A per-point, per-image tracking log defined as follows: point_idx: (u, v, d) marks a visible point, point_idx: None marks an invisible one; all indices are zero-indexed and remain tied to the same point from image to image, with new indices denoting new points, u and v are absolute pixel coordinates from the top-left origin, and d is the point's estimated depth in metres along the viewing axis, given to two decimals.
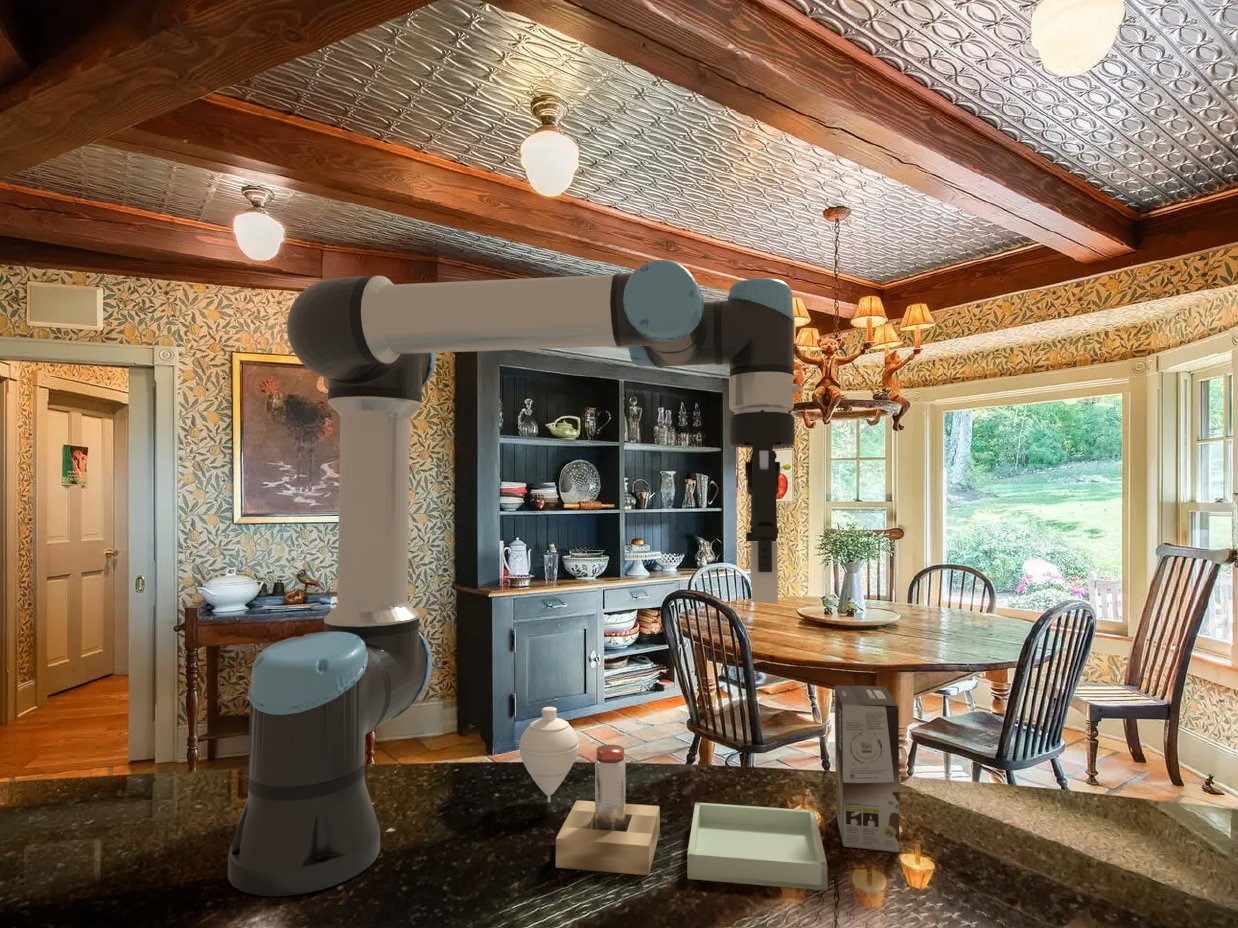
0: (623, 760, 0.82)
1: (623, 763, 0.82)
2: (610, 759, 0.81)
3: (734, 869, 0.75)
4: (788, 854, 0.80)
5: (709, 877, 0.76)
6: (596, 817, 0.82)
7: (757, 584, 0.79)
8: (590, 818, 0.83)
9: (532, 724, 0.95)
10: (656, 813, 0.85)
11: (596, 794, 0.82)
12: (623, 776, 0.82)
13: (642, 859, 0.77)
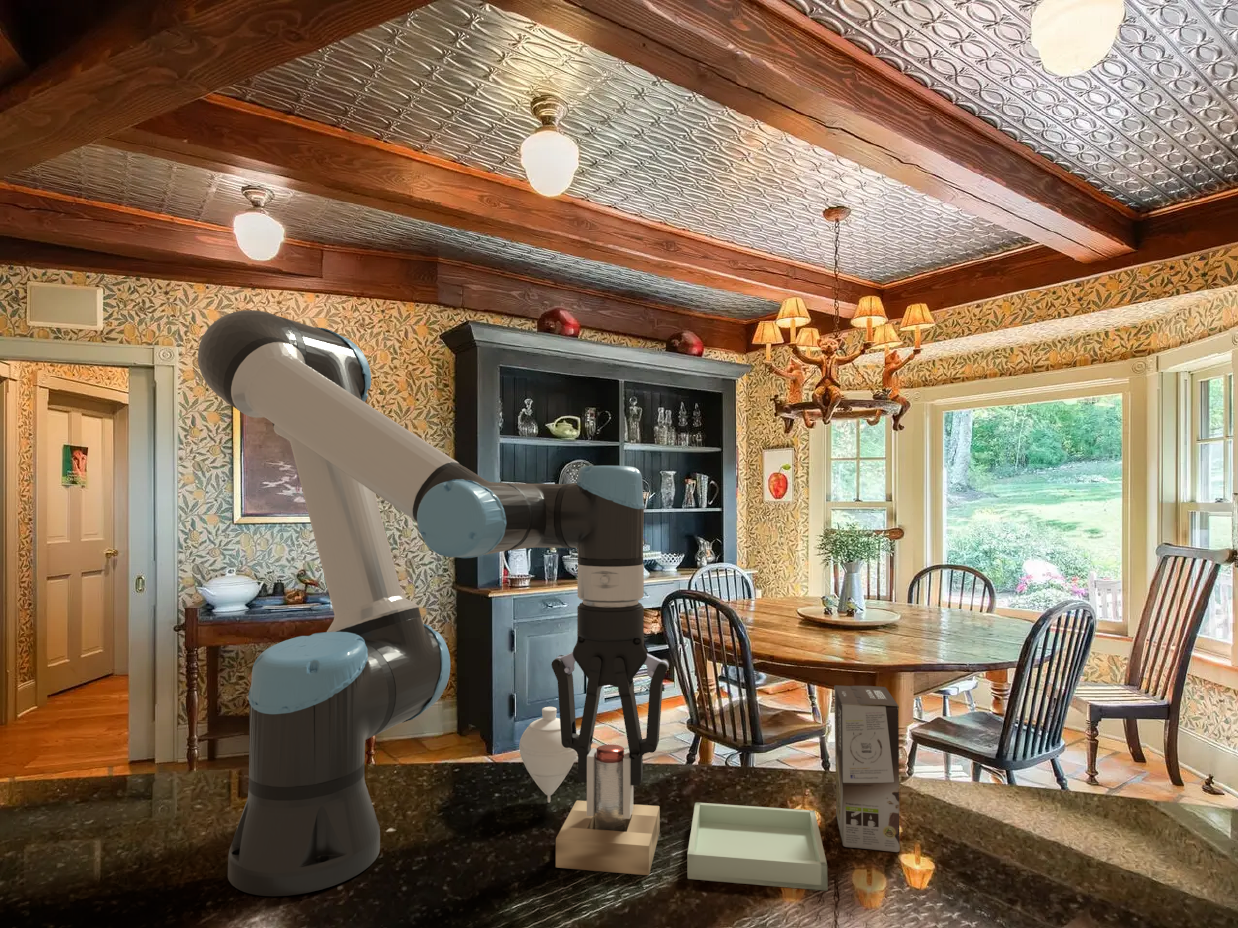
0: None
1: None
2: (610, 759, 0.81)
3: (734, 869, 0.75)
4: (788, 854, 0.80)
5: (709, 877, 0.76)
6: (596, 817, 0.82)
7: None
8: (590, 818, 0.83)
9: (532, 724, 0.95)
10: (656, 813, 0.85)
11: (596, 794, 0.82)
12: None
13: (642, 859, 0.77)
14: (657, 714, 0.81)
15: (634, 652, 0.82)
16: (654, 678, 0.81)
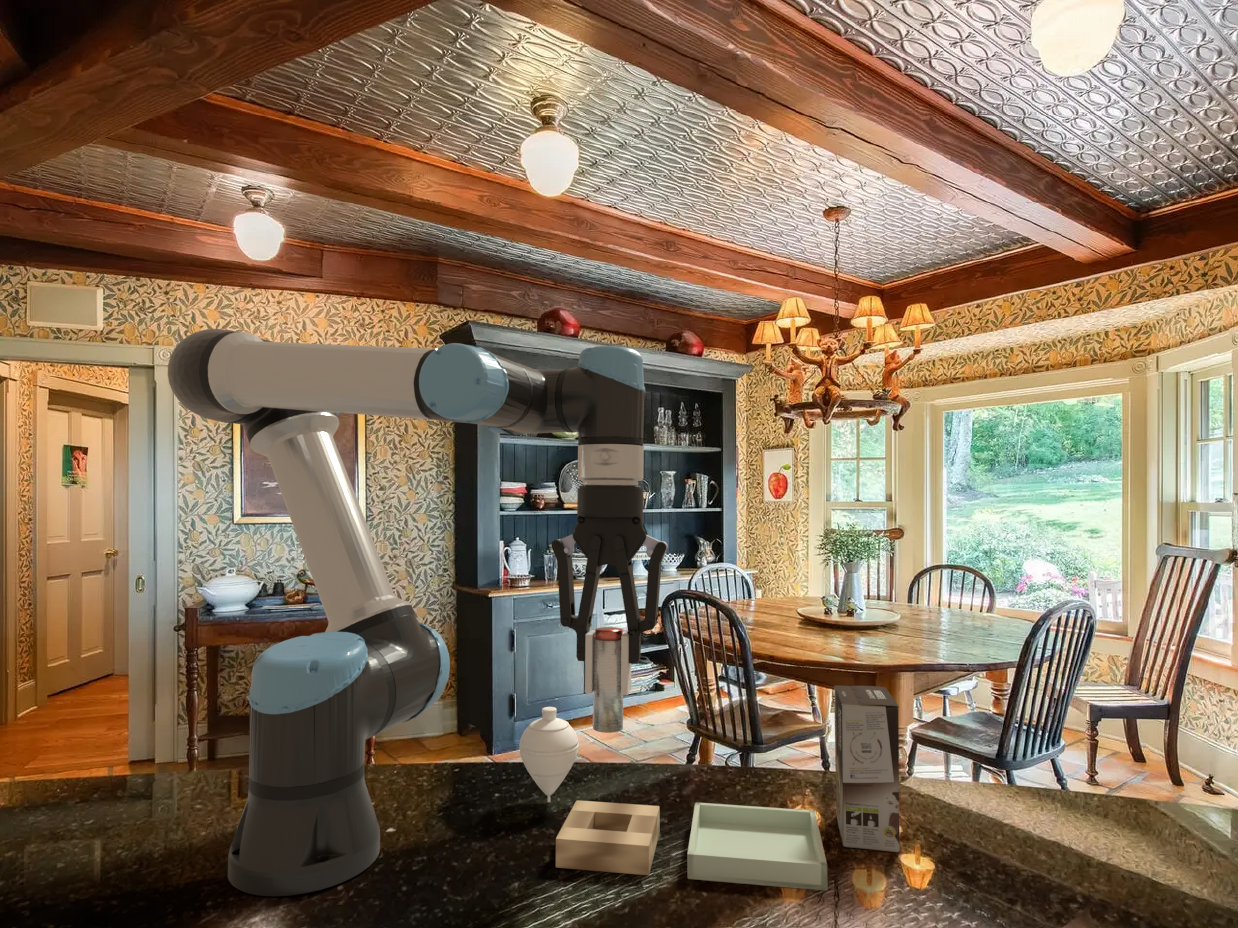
0: None
1: None
2: (609, 637, 0.82)
3: (734, 869, 0.75)
4: (788, 854, 0.80)
5: (709, 877, 0.76)
6: (594, 695, 0.83)
7: None
8: (590, 818, 0.83)
9: (532, 724, 0.95)
10: (656, 813, 0.85)
11: (594, 673, 0.83)
12: None
13: (642, 859, 0.77)
14: (656, 592, 0.82)
15: (633, 531, 0.82)
16: (653, 557, 0.82)
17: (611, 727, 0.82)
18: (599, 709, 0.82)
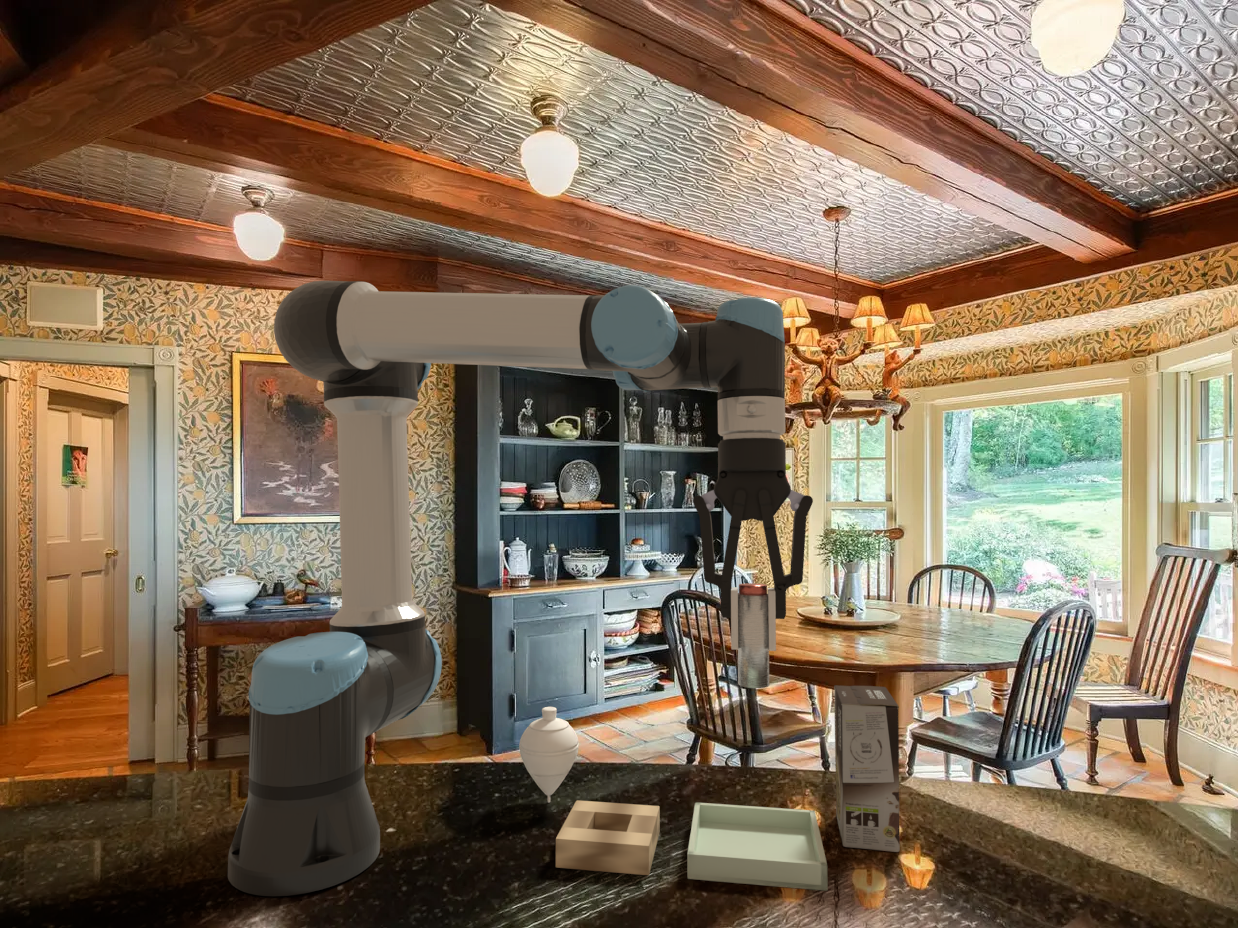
0: (767, 594, 0.82)
1: (767, 597, 0.82)
2: (755, 592, 0.81)
3: (734, 869, 0.75)
4: (788, 854, 0.80)
5: (709, 877, 0.76)
6: (740, 651, 0.82)
7: None
8: (590, 818, 0.83)
9: (532, 724, 0.95)
10: (656, 813, 0.85)
11: (740, 628, 0.82)
12: (767, 610, 0.82)
13: (642, 859, 0.77)
14: (803, 546, 0.81)
15: (778, 485, 0.81)
16: (799, 510, 0.81)
17: (760, 683, 0.80)
18: (746, 664, 0.81)
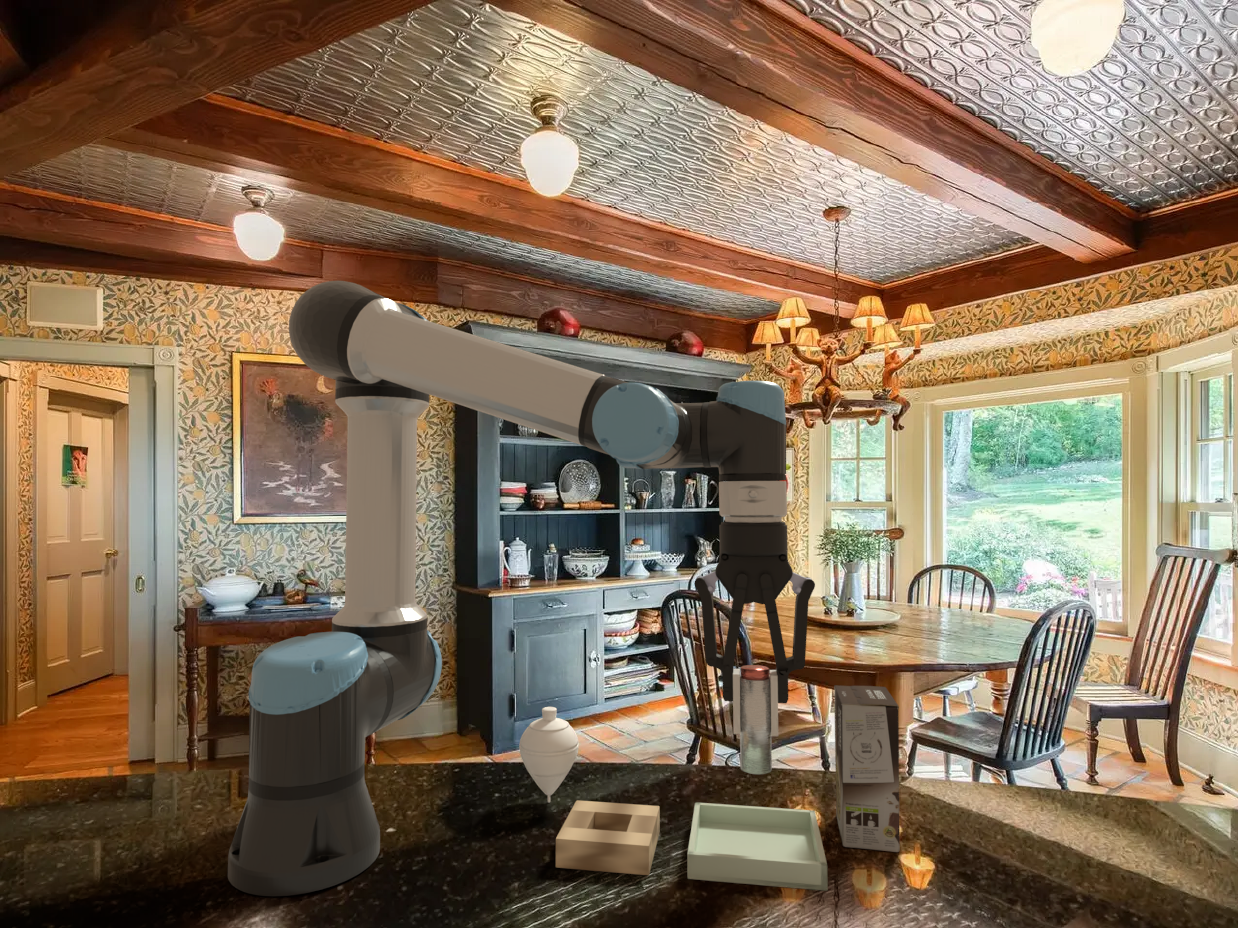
0: (769, 678, 0.81)
1: (769, 681, 0.81)
2: (757, 676, 0.81)
3: (734, 869, 0.75)
4: (788, 854, 0.80)
5: (709, 877, 0.76)
6: (743, 736, 0.81)
7: None
8: (590, 818, 0.83)
9: (532, 724, 0.95)
10: (656, 813, 0.85)
11: (742, 713, 0.81)
12: (769, 694, 0.81)
13: (642, 859, 0.77)
14: (805, 630, 0.80)
15: (780, 569, 0.81)
16: (801, 594, 0.81)
17: (762, 768, 0.80)
18: (749, 750, 0.80)
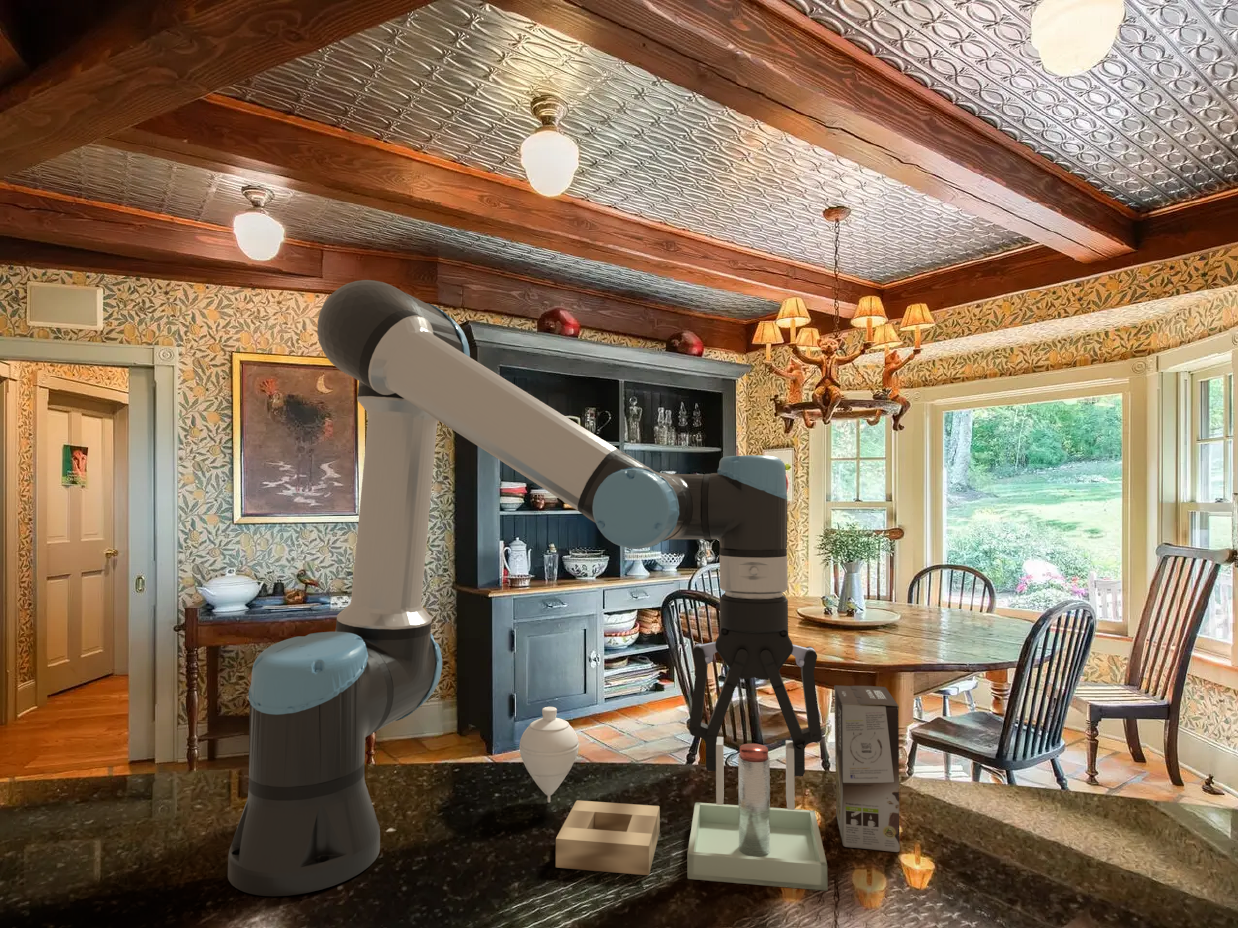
0: (768, 759, 0.81)
1: (768, 762, 0.81)
2: (756, 758, 0.80)
3: (734, 869, 0.75)
4: (788, 854, 0.80)
5: (709, 877, 0.76)
6: (741, 817, 0.81)
7: None
8: (590, 818, 0.83)
9: (532, 724, 0.95)
10: (656, 813, 0.85)
11: (741, 794, 0.81)
12: (768, 775, 0.81)
13: (642, 859, 0.77)
14: (816, 702, 0.80)
15: (780, 645, 0.81)
16: (806, 667, 0.80)
17: (760, 851, 0.80)
18: (747, 832, 0.80)
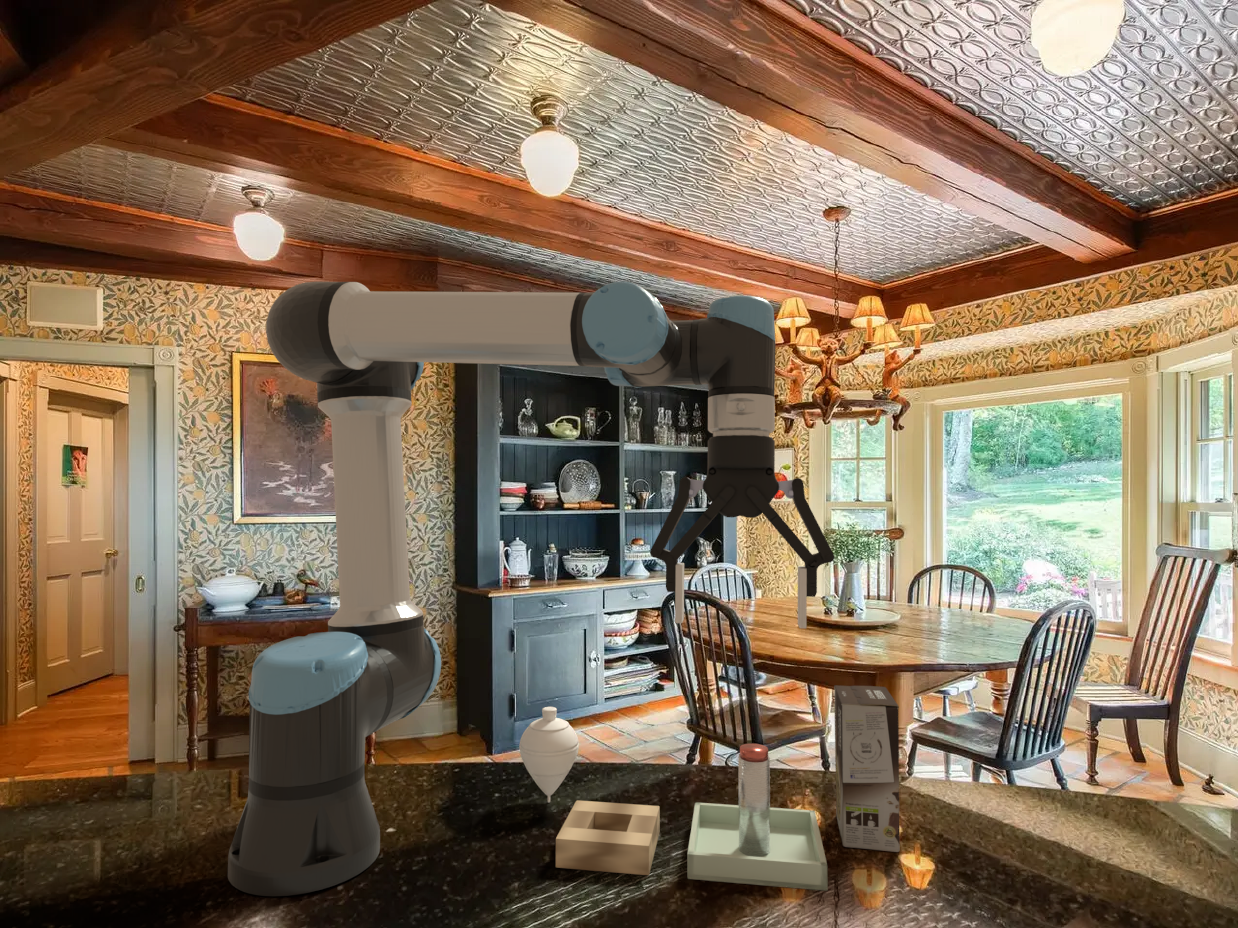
0: (768, 759, 0.81)
1: (768, 762, 0.81)
2: (756, 758, 0.80)
3: (734, 869, 0.75)
4: (788, 854, 0.80)
5: (709, 877, 0.76)
6: (741, 817, 0.81)
7: None
8: (590, 818, 0.83)
9: (532, 724, 0.95)
10: (656, 813, 0.85)
11: (741, 794, 0.81)
12: (768, 775, 0.81)
13: (642, 859, 0.77)
14: (817, 525, 0.81)
15: (765, 484, 0.82)
16: (796, 495, 0.81)
17: (760, 851, 0.80)
18: (747, 832, 0.80)
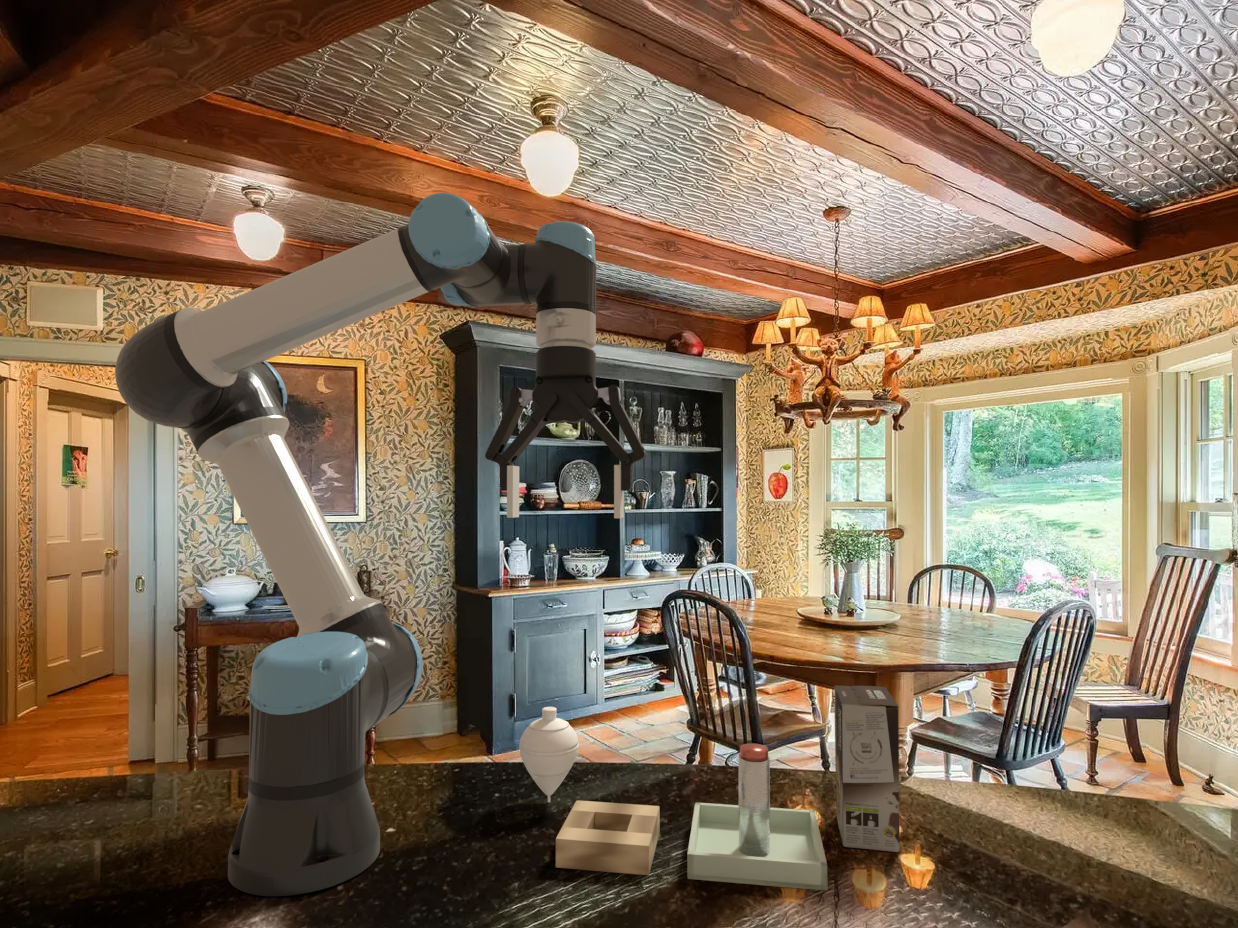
0: (768, 759, 0.81)
1: (768, 762, 0.81)
2: (756, 758, 0.80)
3: (734, 869, 0.75)
4: (788, 854, 0.80)
5: (709, 877, 0.76)
6: (741, 817, 0.81)
7: None
8: (590, 818, 0.83)
9: (532, 724, 0.95)
10: (656, 813, 0.85)
11: (741, 793, 0.81)
12: (768, 775, 0.81)
13: (642, 859, 0.77)
14: (629, 426, 0.90)
15: (585, 391, 0.91)
16: (611, 400, 0.91)
17: (760, 851, 0.80)
18: (747, 832, 0.80)
